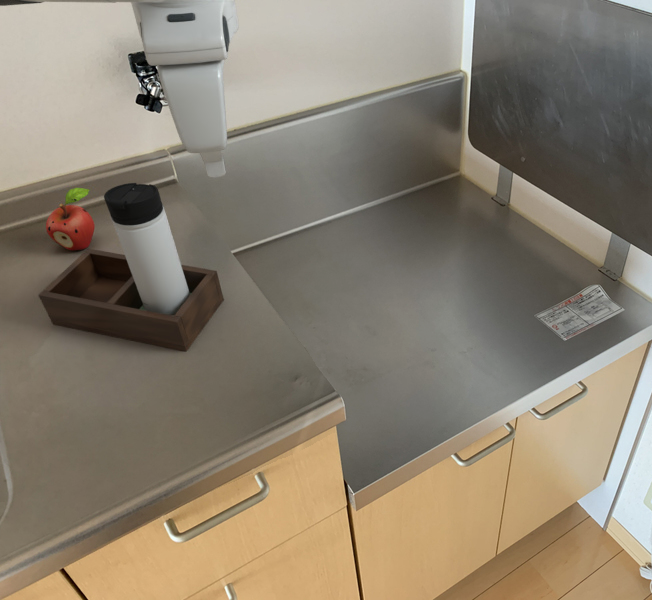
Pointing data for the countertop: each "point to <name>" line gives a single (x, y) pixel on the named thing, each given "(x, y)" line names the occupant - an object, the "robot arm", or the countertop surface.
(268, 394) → the countertop surface
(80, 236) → the apple
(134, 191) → the travel mug
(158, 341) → the divided wooden tray
